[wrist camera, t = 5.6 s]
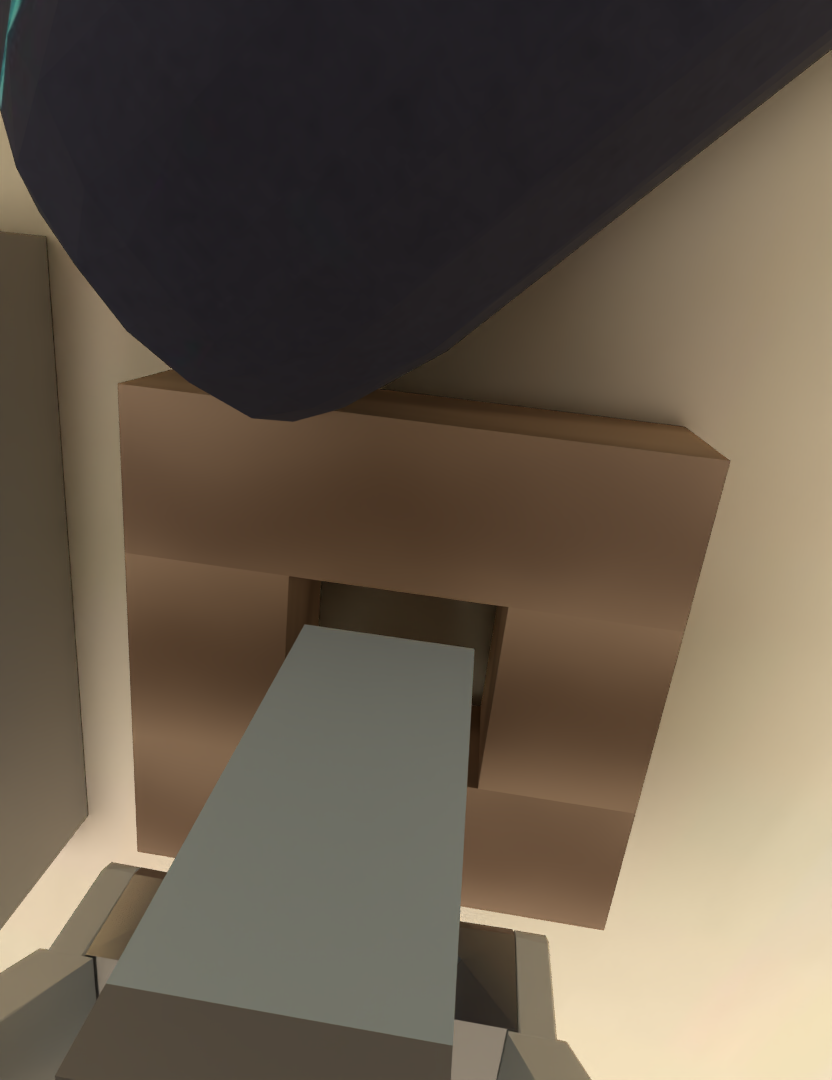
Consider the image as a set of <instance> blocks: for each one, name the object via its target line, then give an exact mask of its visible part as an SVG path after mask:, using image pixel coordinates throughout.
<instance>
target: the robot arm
mask: <svg viewBox="0 0 832 1080" xmlns="http://www.w3.org/2000/svg"><path fill="white" fill-rule="evenodd" d="M166 874H167V872H162V871H157V870H152V869H147V868H140V867H135V866H129V865H124V864H118V863H113V862H111V863H110V864H109V865H108V866H107V867H105V868H104V869H103V870H102V871H101V873H100V874H99V876H98V877H97V879H96V880H95V882H94V883H93V885H92V886H91V888H90V889H89V890H88V892H87V893H86V895H85V896H84V898H83V899H82V901H81V902H80V904H79V905H78V907H77V908H76V910H75V911H74V913H73V914H72V916H71V917H70V919H69V920H68V922H67V923H66V925H65V926H64V928H63V929H62V931H61V932H60V934H59V935H58V937H57V938H56V940H55V941H54V943H53V944H52V946H51V947H50V949H49V950H47V949H38V950H36V951H35V952H33V953H32V954H30V955H28V956H27V957H25V958H23V959H22V960H20V961H19V962H17V963H15V964H14V965H12V966H11V967H9V968H7V969H6V970H4V971H3V972H1V973H0V1080H55V1074H56V1073H57V1071H58V1069H59V1067H60V1065H61V1064H62V1062H63V1060H64V1058H65V1056H66V1055H67V1053H68V1051H69V1049H70V1047H71V1046H72V1044H73V1042H74V1040H75V1038H76V1036H77V1035H78V1033H79V1031H80V1029H81V1027H82V1026H83V1024H84V1022H85V1020H86V1018H87V1017H88V1015H89V1013H90V1011H91V1009H92V1008H93V1006H94V1004H95V1002H96V1000H97V999H98V997H99V995H100V993H101V991H102V989H103V988H104V986H105V984H106V982H107V980H108V979H109V977H110V975H111V973H112V971H113V970H114V968H115V966H116V964H117V962H118V961H119V959H120V957H121V955H122V953H123V952H124V950H125V948H126V946H127V944H128V942H129V941H130V939H131V937H132V935H133V933H134V932H135V930H136V928H137V926H138V924H139V923H140V921H141V919H142V917H143V915H144V914H145V912H146V910H147V908H148V906H149V905H150V903H151V901H152V899H153V897H154V896H155V894H156V892H157V890H158V888H159V886H160V885H161V883H162V881H163V879H164V877H165V876H166ZM451 1080H591V1078H590V1077H589V1075H588V1074H587V1072H586V1071H585V1069H584V1067H583V1066H582V1064H581V1063H580V1061H579V1060H578V1058H577V1057H576V1055H575V1054H574V1052H573V1051H572V1049H571V1047H570V1046H569V1044H568V1043H567V1042H566V1041H561V1040H557V1035H556V1024H555V1012H554V1000H553V988H552V976H551V965H550V953H549V942H548V940H547V937H546V936H545V935H539V934H533V933H527V932H521V931H514V932H513V930H512V929H506V928H499V927H493V926H486V925H480V924H473V923H467V922H460V923H459V941H458V959H457V978H456V996H455V1014H454V1032H453V1050H452V1068H451Z"/></svg>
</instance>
